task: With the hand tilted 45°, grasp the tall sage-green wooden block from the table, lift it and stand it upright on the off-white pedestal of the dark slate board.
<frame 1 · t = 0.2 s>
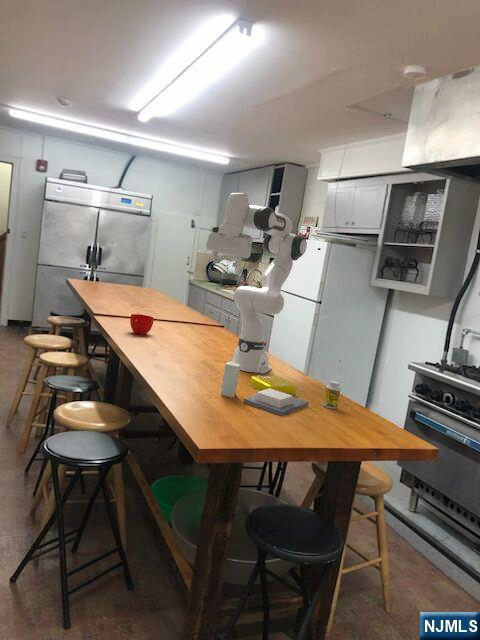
hand: (225, 265, 207), 48 cm above the table, tool pointing down, fingers open, 8 cm apart
ceramic cup: (138, 334, 280), on the table
sage block: (228, 394, 190), on the table
element tile: (272, 391, 208), on the table, touching slate board
slate board: (276, 404, 188), on the table
supplement bottle: (329, 407, 197), on the table
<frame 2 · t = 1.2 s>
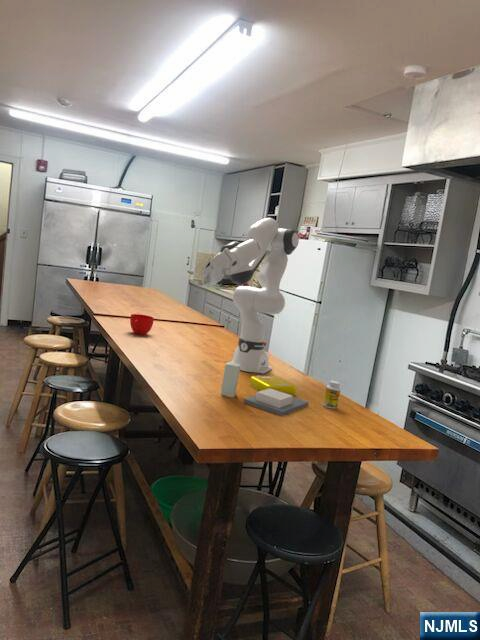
hand: (200, 280, 197), 41 cm above the table, tool tilted 55°, fingers open, 8 cm apart
element tile: (272, 391, 208), on the table
everything else where it was.
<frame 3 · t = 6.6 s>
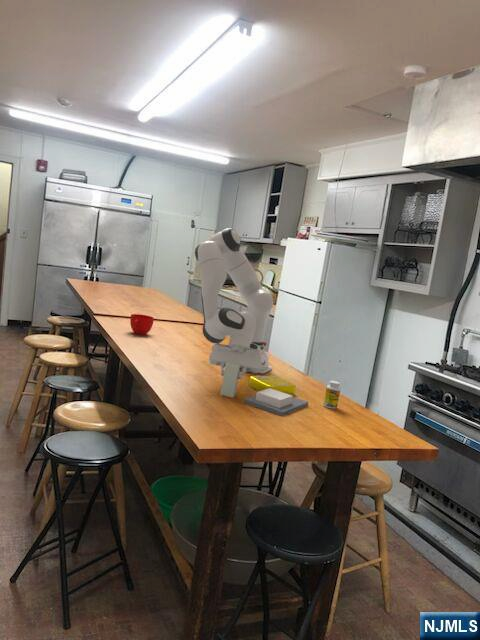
hand: (230, 376, 188), 7 cm above the table, tool tilted 45°, fingers closed on sage block, 5 cm apart
sage block: (228, 394, 190), on the table, touching gripper
everything else where it was.
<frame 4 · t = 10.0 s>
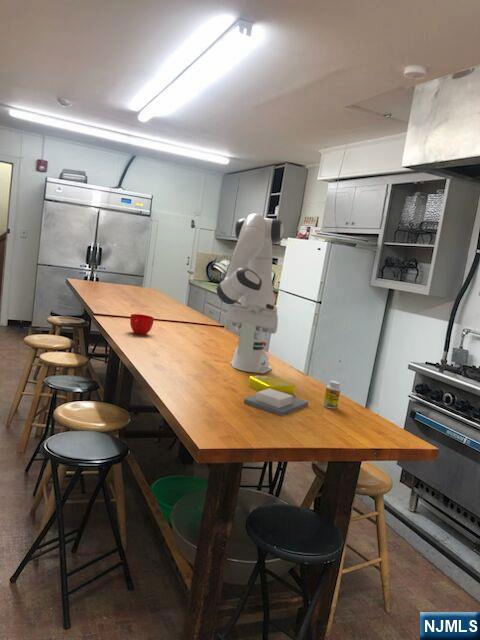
hand: (247, 336, 185), 24 cm above the table, tool tilted 45°, fingers closed on sage block, 5 cm apart
sage block: (244, 354, 187), point 16 cm above the table, touching gripper
everything else where it was.
when the fingers open (13 cm above the table, at t = 13.4 s): sage block drops 2 cm, resting on slate board.
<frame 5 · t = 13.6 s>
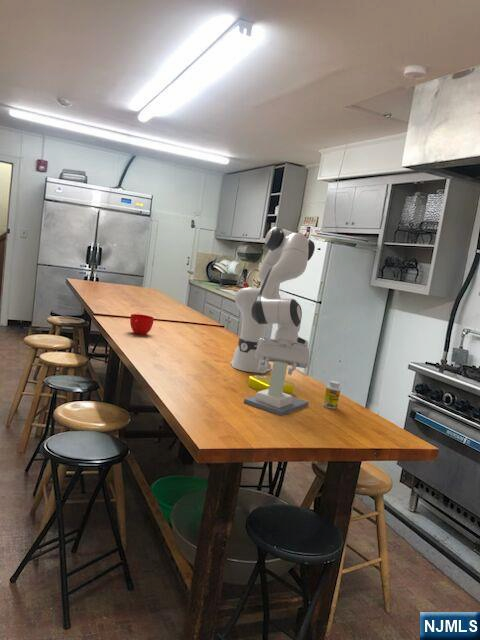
hand: (279, 371, 183), 13 cm above the table, tool tilted 45°, fingers open, 7 cm apart
sage block: (274, 393, 185), point 4 cm above the table, touching slate board
everything else where it was.
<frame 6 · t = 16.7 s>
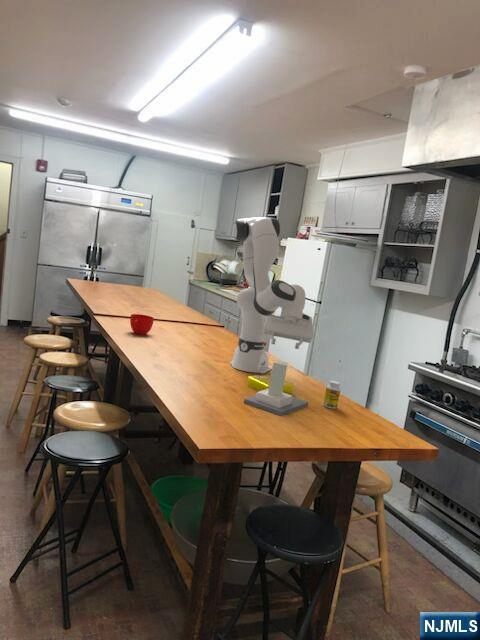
hand: (284, 345, 195), 21 cm above the table, tool tilted 45°, fingers open, 8 cm apart
element tile: (269, 390, 208), on the table, touching slate board
everything else where it was.
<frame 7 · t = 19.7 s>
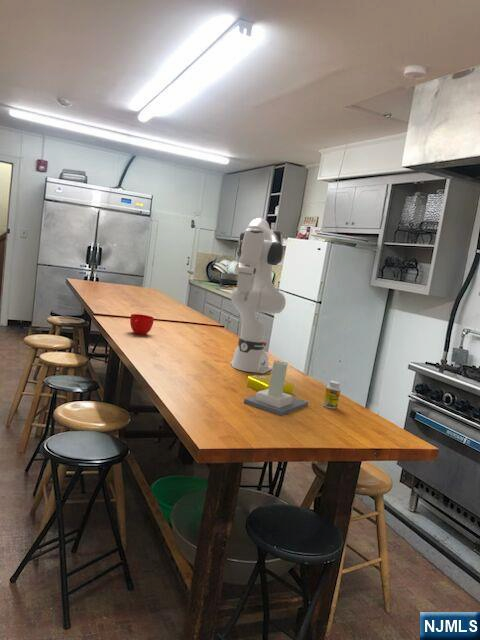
hand: (243, 302, 204), 34 cm above the table, tool pointing down, fingers open, 8 cm apart
nothing on the table moved.
at the end: sage block inside the target area on the slate board (0.0 cm from its centre), point 4.5 cm above the slate board's base; sage block tilted 0°; the gripper is holding nothing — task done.
